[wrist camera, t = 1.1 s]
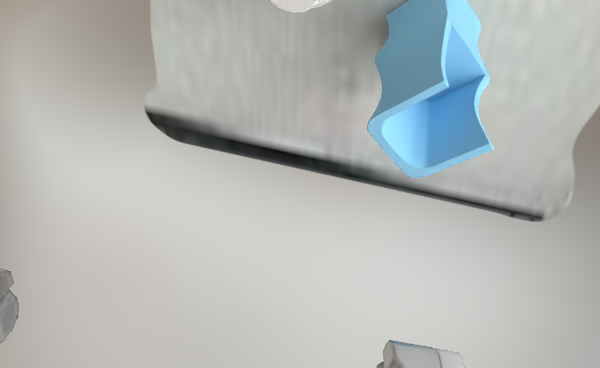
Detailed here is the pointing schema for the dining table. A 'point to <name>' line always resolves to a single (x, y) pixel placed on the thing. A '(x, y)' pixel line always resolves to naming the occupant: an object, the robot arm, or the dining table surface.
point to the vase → (431, 87)
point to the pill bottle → (298, 4)
